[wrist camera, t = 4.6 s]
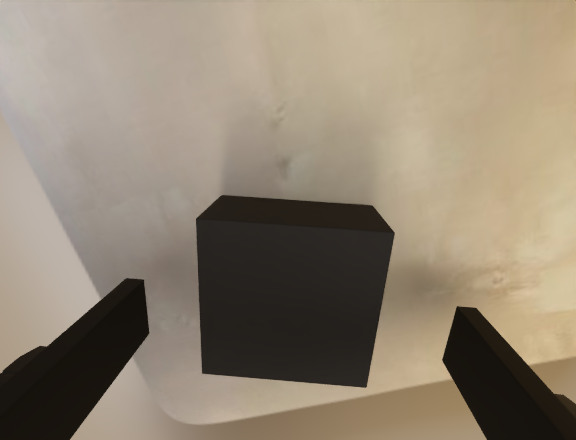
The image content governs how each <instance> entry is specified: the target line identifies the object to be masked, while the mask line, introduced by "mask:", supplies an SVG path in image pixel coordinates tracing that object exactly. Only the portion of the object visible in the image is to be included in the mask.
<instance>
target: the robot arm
mask: <svg viewBox="0 0 576 440" xmlns="http://www.w3.org/2000/svg"><path fill="white" fill-rule="evenodd" d="M148 334H149V325H148V316H147V306H146V296H145V286H144V280H141V279H129V278H126V279H125V280H124V281H123V282H121V283H120V284H119V285H118V286H117V287H116V288H114V289H113V290H112V291H111V292H110V293H109V294H107V295H106V296H105V297H104V298H103V299H102V300H101V301H99V302H98V303H97V304H96V305H95V306H94V307H93V308H91V309H90V310H89V311H88V312H87V313H85V314H84V315H83V316H82V317H81V318H80V319H79V320H77V321H76V322H75V323H74V324H73V325H72V326H70V327H69V328H68V329H67V330H66V331H65V332H63V333H62V334H61V335H60V336H59V337H58V338H56V339H55V340H54V341H53V342H52V343H51V344H50V345H49V346H47V347H44V346H39V347H37V348H35V349H33V350H31V351H30V352H28V353H26V354H24V355H22V356H20V357H19V358H18V359H16V360H15V361H14V362H13V363H12V364H10V365H9V366H8V367H7V368H5V369H4V370H3V372H2V373H1V374H0V440H70V439H71V437H72V436H73V435H74V433H75V432H76V431H77V429H78V428H79V427H80V425H81V424H82V423H83V421H84V420H85V418H86V417H87V416H88V414H89V413H90V412H91V411H92V409H93V408H94V407H95V405H96V404H97V403H98V401H99V400H100V399H101V397H102V396H103V394H104V393H105V392H106V390H107V389H108V388H109V387H110V385H111V384H112V382H113V381H114V380H115V379H116V377H117V376H118V374H119V373H120V372H121V370H122V369H123V368H124V366H125V365H126V363H127V362H128V361H129V360H130V358H131V357H132V356H133V354H134V353H135V352H136V350H137V349H138V348H139V346H140V345H141V344H142V342H143V341H144V340H145V338H146V337H147V336H148ZM442 361H443V363H444V364H445V366H446V368H447V370H448V371H449V373H450V375H451V377H452V379H453V380H454V382H455V384H456V385H457V387H458V389H459V391H460V392H461V394H462V396H463V398H464V400H465V401H466V403H467V405H468V407H469V409H470V410H471V412H472V414H473V416H474V417H475V419H476V421H477V423H478V425H479V426H480V428H481V430H482V431H483V433H484V435H485V437H486V439H487V440H576V404H575V403H574V402H572V401H571V400H570V399H568V398H567V397H565V396H564V395H559V394H554V393H553V392H552V391H551V390H550V389H549V388H548V387H547V386H546V385H545V384H544V383H543V381H542V380H541V379H540V378H539V377H538V376H537V375H536V374H535V372H533V370H532V369H531V368H530V367H529V366H528V365H527V364H526V363H525V361H524V360H523V359H522V358H521V357H520V356H519V355H518V354H517V353H516V351H515V350H514V349H513V348H512V347H511V346H510V345H509V344H508V343H507V342H506V340H505V339H504V338H503V337H502V336H501V335H500V334H499V333H498V332H497V331H496V329H495V328H494V327H493V326H492V325H491V324H490V323H489V322H488V321H487V319H486V318H485V317H484V316H483V315H482V314H481V313H480V312H479V311H478V310H477V308H471V307H459V306H457V308H456V312H455V315H454V319H453V323H452V326H451V330H450V334H449V337H448V341H447V345H446V348H445V352H444V356H443V359H442Z"/></svg>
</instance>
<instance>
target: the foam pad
mask: <svg viewBox="0 0 576 440" xmlns="http://www.w3.org/2000/svg"><path fill="white" fill-rule="evenodd" d="M196 229H197V254H198V280H199V305H200V330H201V356H202V373H203V374H213V375H225V376H236V377H248V378H260V379H271V380H283V381H295V382H306V383H318V384H330V385H341V386H353V387H365V388H366V387H367V382H368V376H369V371H370V365H371V360H372V354H373V349H374V343H375V338H376V332H377V327H378V321H379V316H380V310H381V305H382V299H383V294H384V288H385V283H386V278H387V272H388V267H389V261H390V256H391V250H392V245H393V239H394V234H395V233H394V231H393V230H392V229H391V228H390V226H389V225H388V224H387V223H386V222H385V220H384V219H383V218H382V217H381V215H380V214H379V213H378V212H377V211H376V209H375V208H374V207H373V206H368V205H354V204H339V203H325V202H311V201H296V200H282V199H267V198H253V197H238V196H224V195H222V196H220V197H219V198H218V199H217V200H216V201H215V202H214V203H213V204H212V205H210V206H209V207H208V208H207V209H206V210H205V211H204V212H203V213H202V214H201V215H199V216H198V217H197V218H196Z"/></svg>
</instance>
